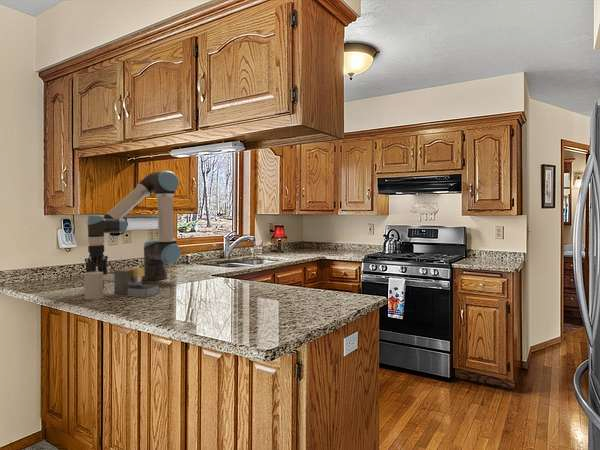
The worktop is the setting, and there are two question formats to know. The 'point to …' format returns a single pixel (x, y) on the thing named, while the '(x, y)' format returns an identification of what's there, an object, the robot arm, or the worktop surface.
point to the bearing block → (124, 281)
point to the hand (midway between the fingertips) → (97, 289)
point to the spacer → (137, 272)
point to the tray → (144, 291)
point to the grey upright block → (93, 285)
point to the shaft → (111, 277)
